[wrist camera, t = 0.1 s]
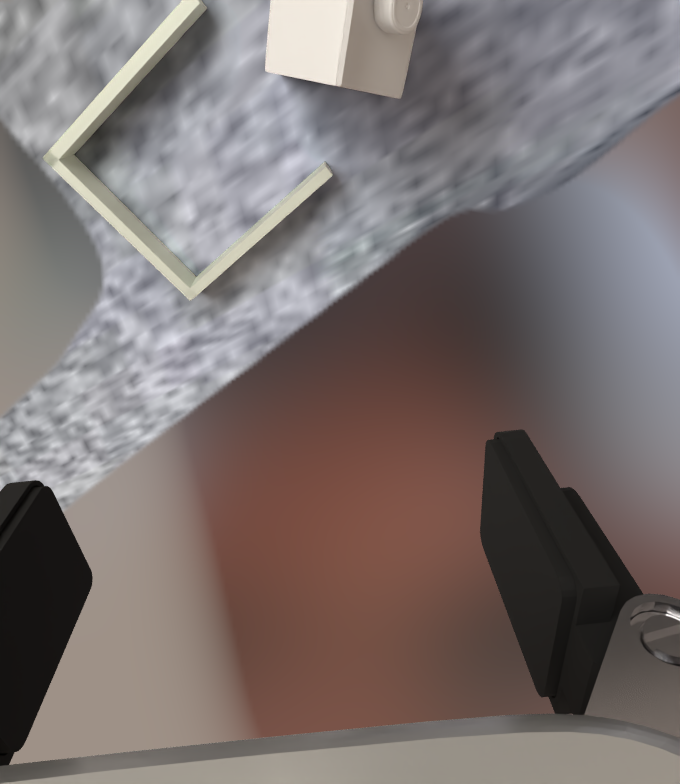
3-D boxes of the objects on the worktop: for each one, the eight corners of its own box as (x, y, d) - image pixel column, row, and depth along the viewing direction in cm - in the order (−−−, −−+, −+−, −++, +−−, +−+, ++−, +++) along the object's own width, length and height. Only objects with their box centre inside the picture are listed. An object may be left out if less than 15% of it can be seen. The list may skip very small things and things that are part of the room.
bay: (58, 153, 41) (42, 158, 38) (198, -3, 37) (190, -10, 34) (196, 289, 47) (190, 301, 45) (331, 169, 43) (332, 175, 40)
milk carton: (278, 74, 39) (257, 69, 23) (290, -47, 36) (276, -154, 19) (372, 93, 40) (416, 102, 24) (392, -24, 37) (461, -106, 20)
